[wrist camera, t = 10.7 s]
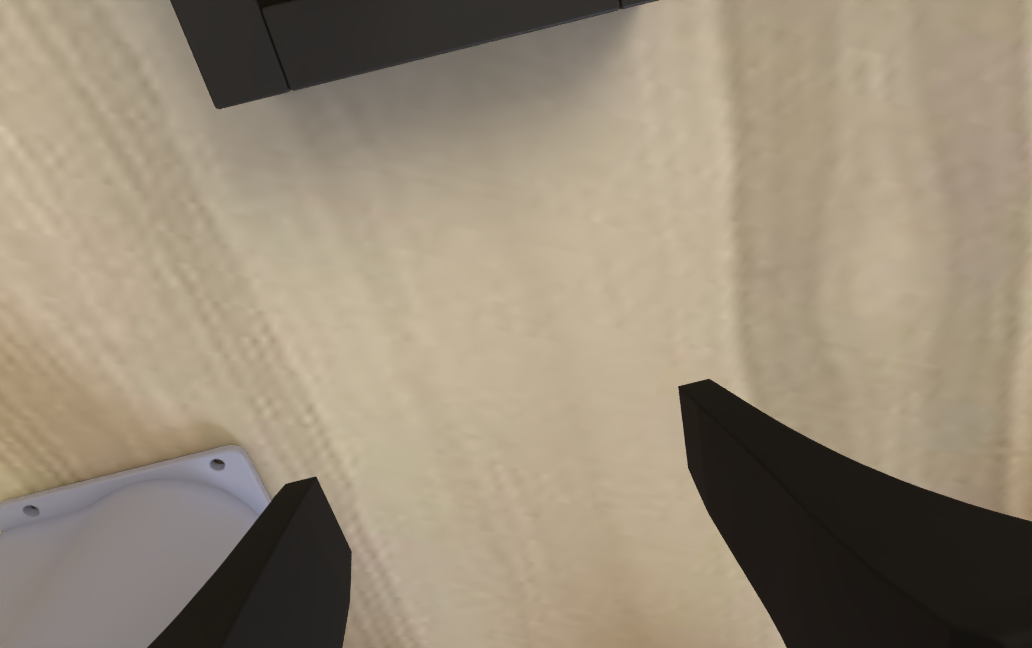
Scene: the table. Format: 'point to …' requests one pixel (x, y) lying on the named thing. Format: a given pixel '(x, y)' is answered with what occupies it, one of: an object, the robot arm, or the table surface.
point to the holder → (348, 36)
